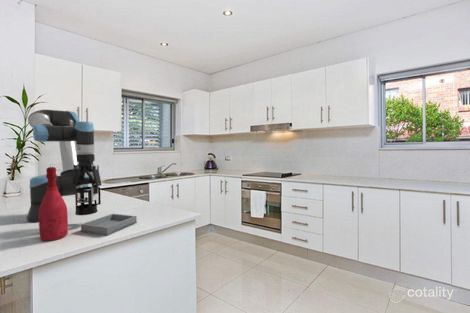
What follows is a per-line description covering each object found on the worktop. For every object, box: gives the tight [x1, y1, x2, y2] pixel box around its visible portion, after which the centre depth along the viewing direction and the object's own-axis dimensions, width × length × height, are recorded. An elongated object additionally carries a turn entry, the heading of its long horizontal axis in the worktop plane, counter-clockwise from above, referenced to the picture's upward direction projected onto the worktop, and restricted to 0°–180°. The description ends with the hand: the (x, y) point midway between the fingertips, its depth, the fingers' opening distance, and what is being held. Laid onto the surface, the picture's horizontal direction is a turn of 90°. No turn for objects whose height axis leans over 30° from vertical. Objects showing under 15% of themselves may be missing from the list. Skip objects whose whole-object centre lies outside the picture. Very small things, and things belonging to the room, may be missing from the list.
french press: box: [74, 166, 102, 216], centre depth 120 cm, size 12×9×23 cm
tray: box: [80, 213, 138, 237], centre depth 117 cm, size 15×18×4 cm
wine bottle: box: [38, 166, 69, 242], centre depth 104 cm, size 10×10×30 cm
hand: (87, 199), depth 121 cm, fingers closed on french press, 9 cm apart
